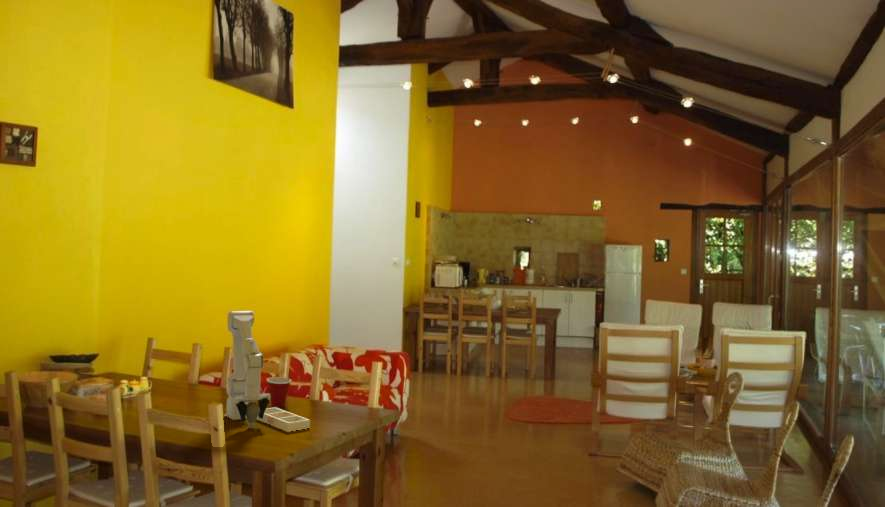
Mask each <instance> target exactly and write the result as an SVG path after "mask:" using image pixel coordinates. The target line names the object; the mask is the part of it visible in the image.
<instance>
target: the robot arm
mask: <svg viewBox="0 0 885 507" xmlns="http://www.w3.org/2000/svg"><path fill="white" fill-rule="evenodd" d="M254 323H255V313H254V311H253V310H238V311H237V310H235V311H234V310H233V311H232V310H229V312H228V313H227V331H228V332H230V333H231V334H232V357H233V358H232V360H233V361H232V363H233V372H232V373H231V374H229V376H227V379H226V390H225V392H226V395H228V397H227V399H226V407H225V408H226V411H225V413H226V414H223V415H224V417H226V416H227V417H226V418H228V417H229V419H230V420H232V421H237V420H240V421H241V422H245V421H246V419H247V417H246V415H245V413H246V407H247V404H249V403H250V402H255V401H257V404H258V405H259V407H260V413H259V418H261V419H263V416H264V412H265V410H266V408H267V407H268V405H269V404H270V400H271V399H270V395H271V394H270V393H261V385H262V384H261V382H262V381H261V378H262V376H261V374H262V373H261V372H262V368H263V367H264V356H263V354H262V353H261V351H259V346H258V344H257V343H258V342H257V340H256V339H254V338H253V333H252V332H253V330H252V328H253V325H254Z"/></svg>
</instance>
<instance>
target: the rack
mask: <svg viewBox="0 0 885 507" xmlns="http://www.w3.org/2000/svg"><path fill="white" fill-rule="evenodd" d="M256 421H259V422H262V423H265V424H266V423H267V425H269V424H270V426H272V427H274V428H277V429H279V430H281V429H282V431H284V432H286V433H292V432H291V431H293V432H297V431H296V430H299V431H303V430H302V429H305V430H308V429H307V428H310V427H311V426H310V424H311V420H310V419H309V418H306V417H303V416H301V415H298V414H295V413H292V412H290V411H287V410H284V409H281V408H280V407H268V408H267V407H266V410H265V412H264V416H263V419H261V418H259V415H258V417H257V419H256ZM310 429H311V428H310Z"/></svg>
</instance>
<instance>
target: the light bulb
mask: <svg viewBox="0 0 885 507" xmlns="http://www.w3.org/2000/svg"><path fill="white" fill-rule="evenodd" d="M259 413H260V407H259V405H258V403H256V402H248V404H247V407H246V413H245V415H246V417H247V418H246V419H247V423H248V429H254V428H256V422H257V417H258V415H259Z"/></svg>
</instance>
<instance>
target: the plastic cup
mask: <svg viewBox="0 0 885 507" xmlns="http://www.w3.org/2000/svg"><path fill="white" fill-rule="evenodd" d="M266 382H267V386H268V390H269V391H268V392H269V393H268V394H271V395H270V399H269V400H270V404H271V408H273V407H276V408H283V407H285V405H286V401H287V398H288V393H289V392H288V391H289V387H290V385H291V383H292V379H291V378H287V377H280V376H273V377H267V378H266Z"/></svg>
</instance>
